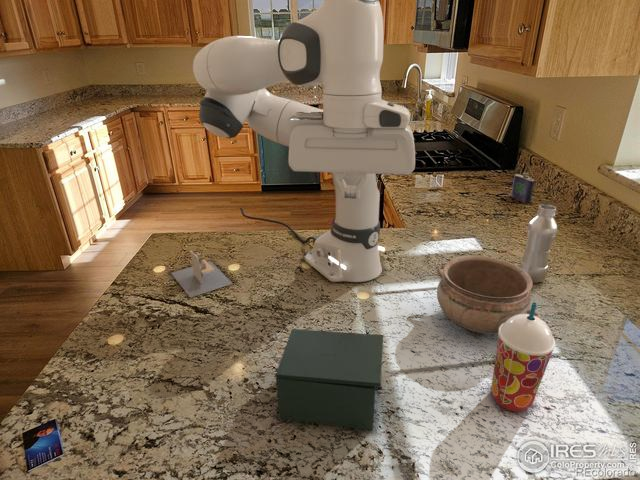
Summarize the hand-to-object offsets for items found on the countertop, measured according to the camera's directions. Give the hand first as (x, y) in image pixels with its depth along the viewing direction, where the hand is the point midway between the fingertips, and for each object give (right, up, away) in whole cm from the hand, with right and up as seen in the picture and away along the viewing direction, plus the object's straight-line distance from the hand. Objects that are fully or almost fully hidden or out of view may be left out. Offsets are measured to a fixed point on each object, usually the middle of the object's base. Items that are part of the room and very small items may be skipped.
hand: (350, 197), depth 71 cm
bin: (-3, -35, +4) cm, 35 cm away
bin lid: (-3, -27, 0) cm, 27 cm away
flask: (+72, +8, +92) cm, 117 cm away
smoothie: (+28, -35, +3) cm, 45 cm away
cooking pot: (+30, -26, +23) cm, 45 cm away
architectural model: (-37, -17, +42) cm, 58 cm away
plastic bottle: (+50, -17, +39) cm, 66 cm away
